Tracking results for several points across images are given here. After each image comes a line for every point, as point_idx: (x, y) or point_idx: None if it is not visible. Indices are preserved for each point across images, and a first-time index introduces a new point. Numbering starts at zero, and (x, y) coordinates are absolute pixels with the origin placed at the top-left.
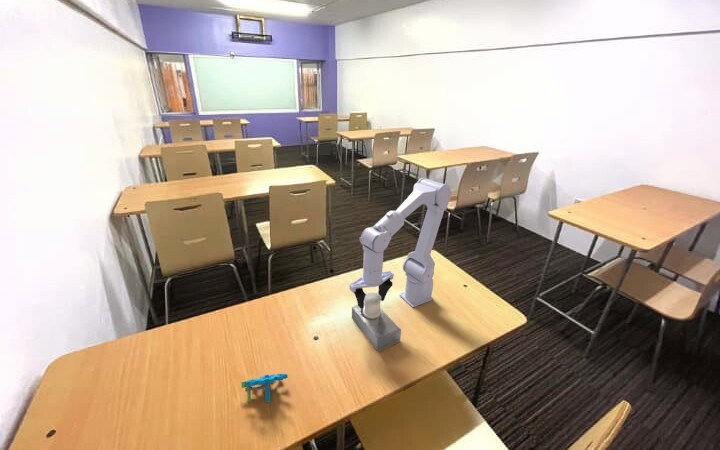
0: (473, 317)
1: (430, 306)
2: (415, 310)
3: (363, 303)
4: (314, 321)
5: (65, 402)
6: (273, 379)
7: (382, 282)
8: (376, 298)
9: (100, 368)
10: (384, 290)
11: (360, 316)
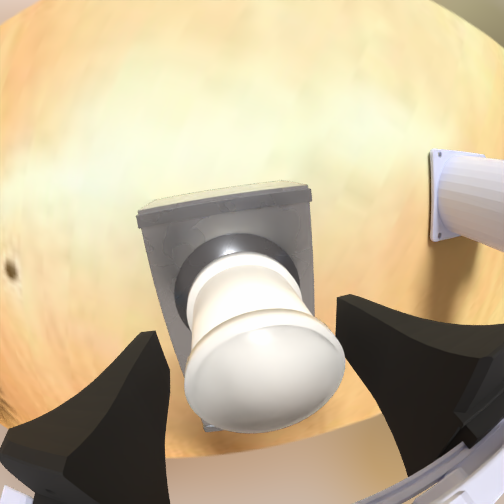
0: (483, 318)
1: (462, 253)
2: (427, 255)
3: (164, 418)
4: (9, 180)
5: None
6: None
7: None
8: (295, 398)
9: None
10: (390, 420)
11: (166, 310)
